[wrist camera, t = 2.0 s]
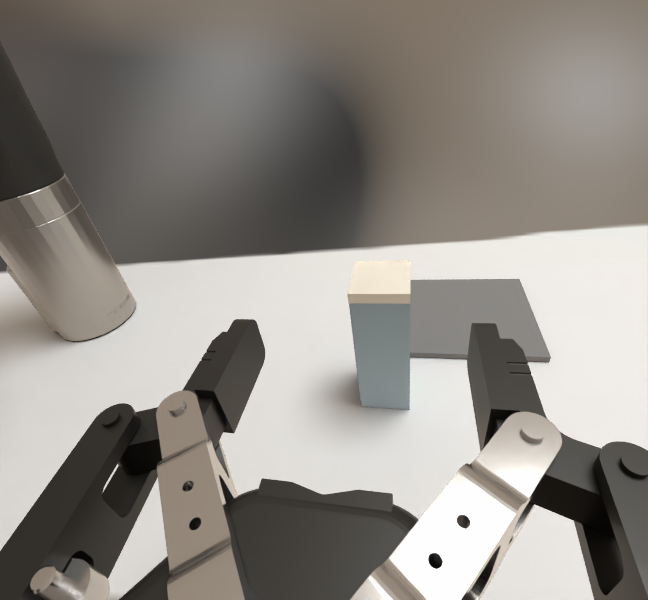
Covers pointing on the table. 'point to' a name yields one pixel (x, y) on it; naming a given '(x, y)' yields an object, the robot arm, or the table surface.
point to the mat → (470, 316)
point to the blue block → (381, 331)
